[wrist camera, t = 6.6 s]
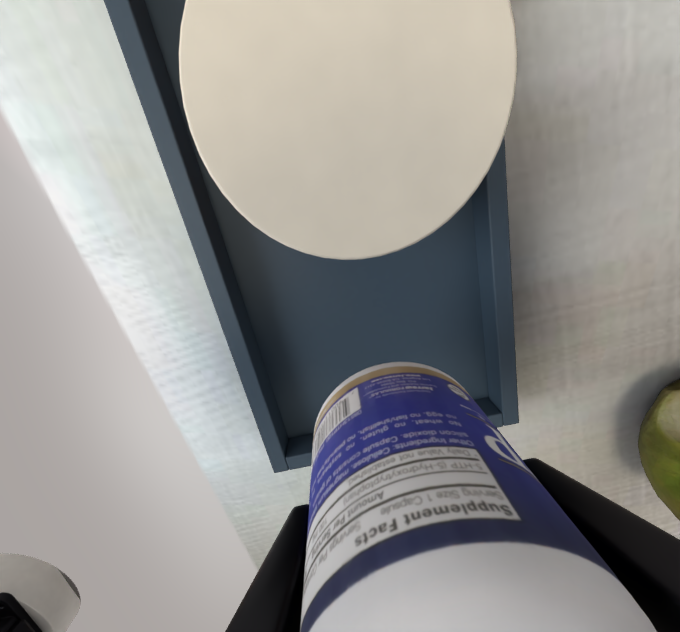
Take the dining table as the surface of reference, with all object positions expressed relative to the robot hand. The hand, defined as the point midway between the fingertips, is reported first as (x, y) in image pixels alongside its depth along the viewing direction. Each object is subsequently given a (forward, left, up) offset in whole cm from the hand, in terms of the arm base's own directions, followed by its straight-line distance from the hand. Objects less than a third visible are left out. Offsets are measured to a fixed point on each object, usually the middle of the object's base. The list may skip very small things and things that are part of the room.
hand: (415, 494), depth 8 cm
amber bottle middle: (0, +9, -8) cm, 12 cm away
